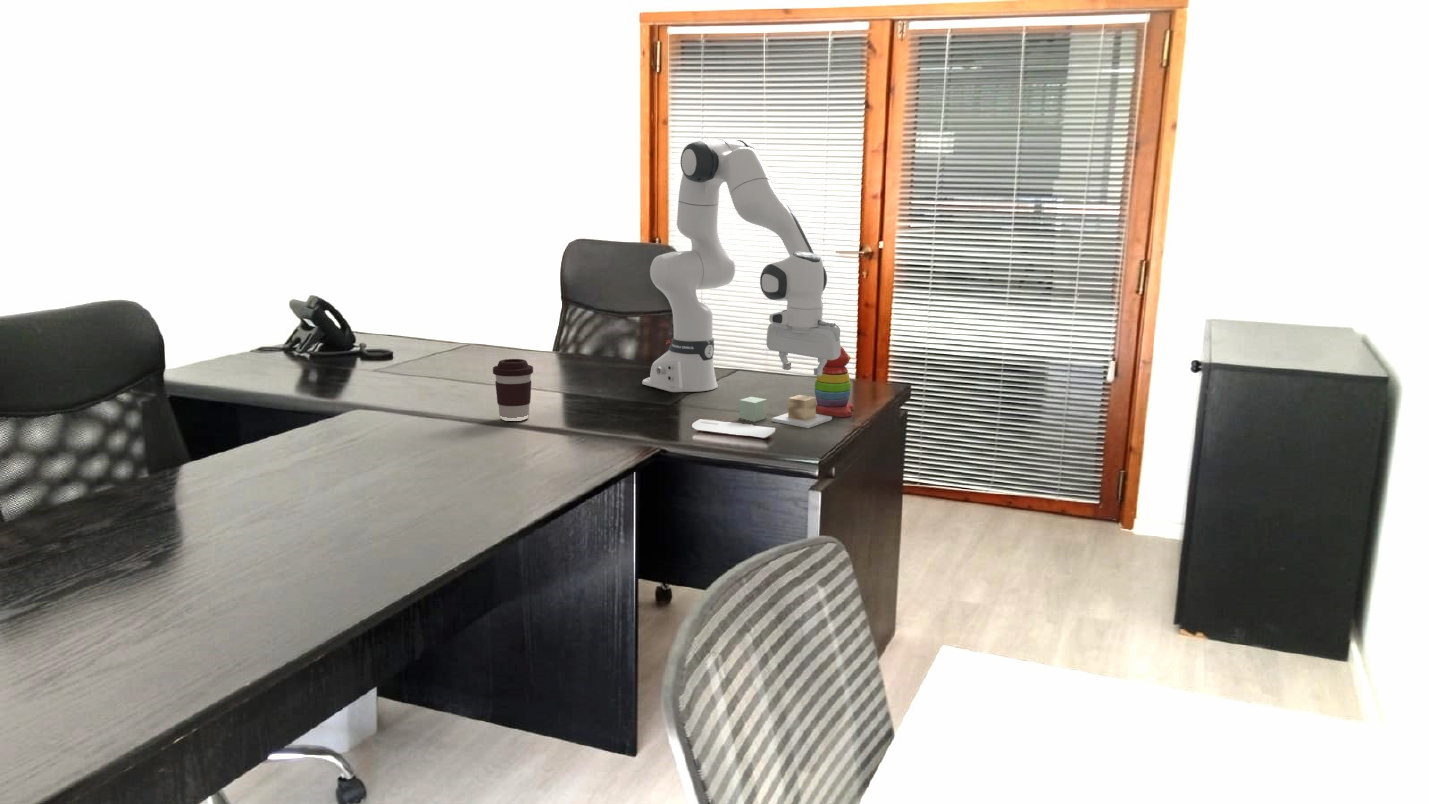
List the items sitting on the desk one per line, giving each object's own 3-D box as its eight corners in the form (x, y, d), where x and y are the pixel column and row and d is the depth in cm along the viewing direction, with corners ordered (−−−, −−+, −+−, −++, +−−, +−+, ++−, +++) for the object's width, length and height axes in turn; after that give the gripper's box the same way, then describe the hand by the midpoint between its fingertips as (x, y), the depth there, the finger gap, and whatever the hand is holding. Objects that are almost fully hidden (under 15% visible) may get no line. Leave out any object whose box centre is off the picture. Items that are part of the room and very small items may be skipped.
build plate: (771, 421, 279) (771, 417, 279) (795, 413, 287) (796, 409, 287) (808, 428, 272) (808, 424, 272) (831, 419, 281) (832, 416, 281)
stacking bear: (851, 417, 283) (853, 349, 279) (811, 415, 285) (813, 347, 281) (854, 408, 293) (856, 342, 289) (816, 406, 295) (818, 340, 291)
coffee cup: (542, 417, 281) (540, 359, 278) (517, 425, 273) (516, 365, 270) (511, 413, 286) (509, 356, 283) (486, 420, 277) (484, 361, 274)
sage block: (739, 419, 281) (739, 400, 280) (750, 415, 285) (751, 396, 284) (755, 422, 278) (755, 402, 277) (766, 418, 282) (766, 399, 281)
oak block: (788, 417, 279) (788, 398, 278) (799, 413, 283) (799, 394, 282) (804, 420, 276) (805, 400, 275) (815, 416, 280) (816, 397, 279)
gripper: (846, 321, 270) (844, 376, 274) (778, 311, 282) (776, 364, 286) (833, 324, 266) (830, 380, 269) (763, 314, 278) (762, 368, 281)
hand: (802, 372), depth 277 cm, fingers open, 8 cm apart
